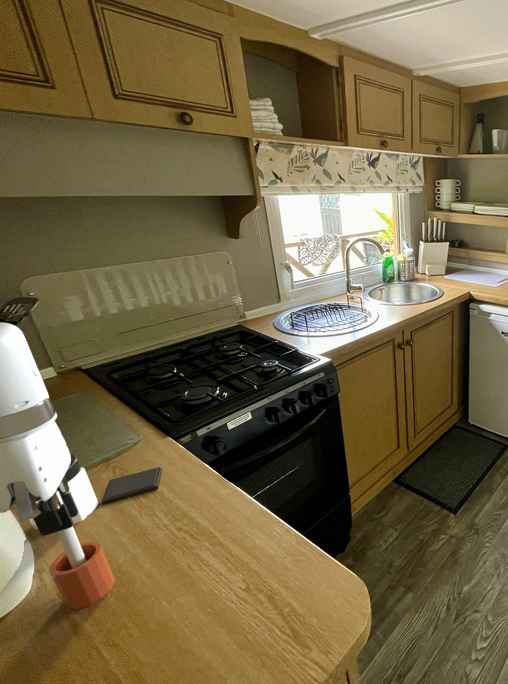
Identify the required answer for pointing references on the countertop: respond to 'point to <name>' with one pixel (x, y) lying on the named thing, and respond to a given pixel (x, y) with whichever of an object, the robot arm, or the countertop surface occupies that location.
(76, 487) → the jar
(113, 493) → the tablet
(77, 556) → the stylus
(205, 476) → the countertop surface
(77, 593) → the pen pot
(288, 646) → the countertop surface
